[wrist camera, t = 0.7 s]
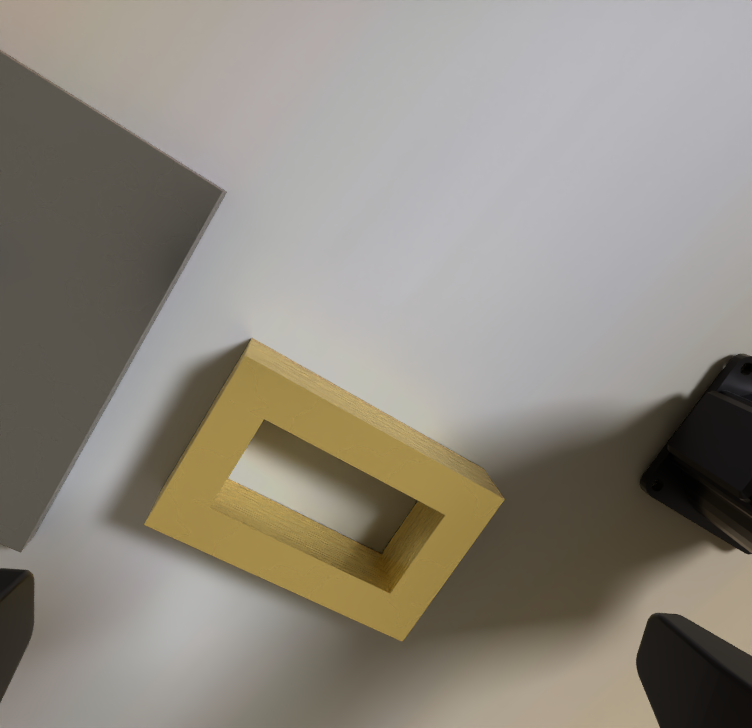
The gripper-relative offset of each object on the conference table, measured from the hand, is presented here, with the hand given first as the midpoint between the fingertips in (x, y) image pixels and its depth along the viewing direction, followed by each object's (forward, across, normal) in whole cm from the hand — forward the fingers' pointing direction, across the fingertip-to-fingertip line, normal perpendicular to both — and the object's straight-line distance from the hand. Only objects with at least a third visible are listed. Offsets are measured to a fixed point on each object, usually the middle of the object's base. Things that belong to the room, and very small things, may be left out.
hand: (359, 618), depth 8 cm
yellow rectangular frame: (+12, 0, +4) cm, 13 cm away
